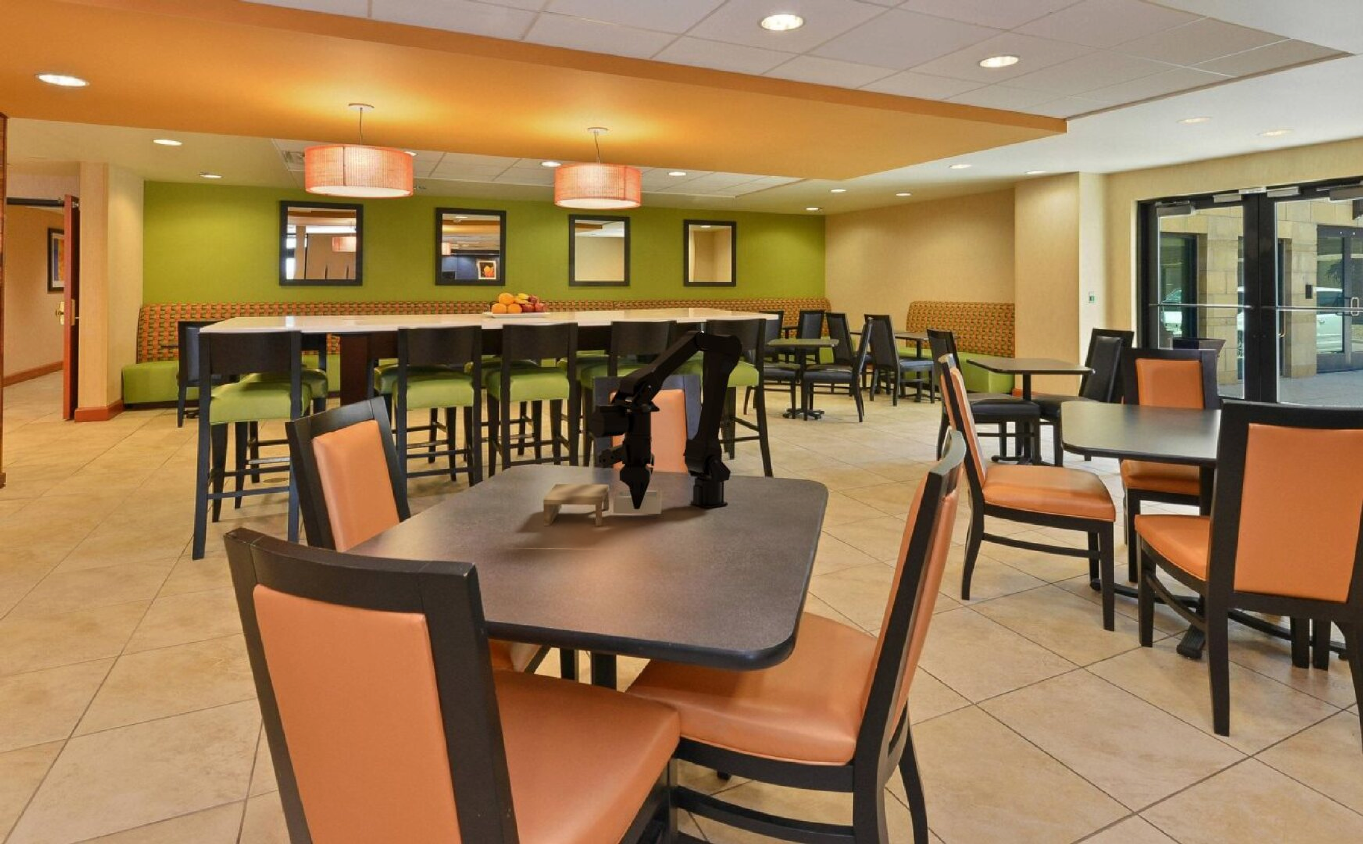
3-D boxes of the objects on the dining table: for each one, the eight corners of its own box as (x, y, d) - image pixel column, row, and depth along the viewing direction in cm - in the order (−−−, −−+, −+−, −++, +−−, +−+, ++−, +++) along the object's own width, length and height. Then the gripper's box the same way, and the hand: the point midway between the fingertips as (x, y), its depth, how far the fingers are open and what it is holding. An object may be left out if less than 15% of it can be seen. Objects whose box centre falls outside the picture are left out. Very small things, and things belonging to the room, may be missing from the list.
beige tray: (661, 506, 170) (661, 490, 170) (660, 513, 164) (660, 497, 163) (616, 505, 170) (616, 490, 170) (613, 513, 164) (613, 497, 163)
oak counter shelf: (609, 508, 175) (609, 484, 174) (601, 526, 160) (601, 500, 159) (556, 507, 175) (555, 484, 174) (543, 525, 160) (543, 499, 160)
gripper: (605, 426, 174) (605, 494, 176) (594, 440, 156) (595, 516, 158) (654, 427, 174) (654, 495, 176) (649, 441, 155) (649, 516, 158)
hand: (638, 505), depth 167 cm, fingers closed on beige tray, 6 cm apart
